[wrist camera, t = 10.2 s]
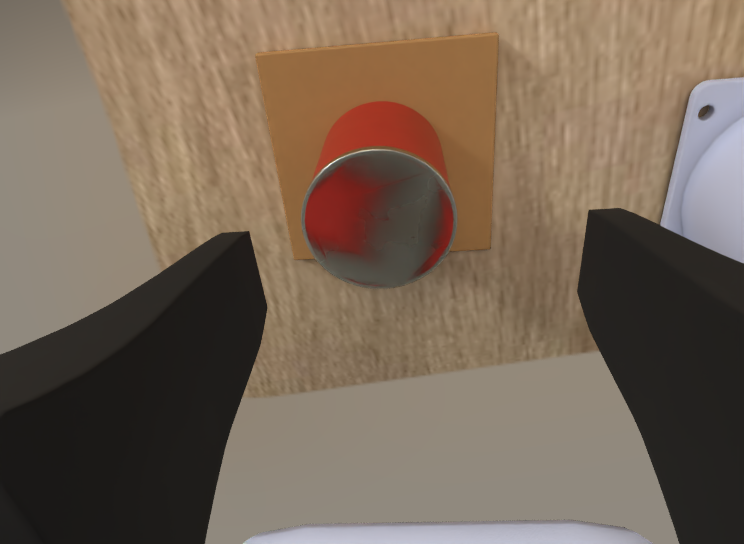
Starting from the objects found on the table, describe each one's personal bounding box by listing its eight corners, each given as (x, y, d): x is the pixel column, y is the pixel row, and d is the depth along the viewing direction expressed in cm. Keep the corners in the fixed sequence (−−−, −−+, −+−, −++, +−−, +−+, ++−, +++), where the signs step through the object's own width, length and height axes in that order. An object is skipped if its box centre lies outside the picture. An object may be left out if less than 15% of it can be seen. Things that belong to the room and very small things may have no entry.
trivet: (488, 244, 22) (490, 249, 21) (295, 255, 22) (293, 260, 22) (497, 32, 17) (498, 33, 17) (257, 52, 18) (254, 55, 18)
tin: (444, 213, 21) (457, 285, 16) (329, 220, 21) (312, 293, 17) (443, 94, 18) (457, 143, 14) (312, 104, 18) (288, 155, 14)
